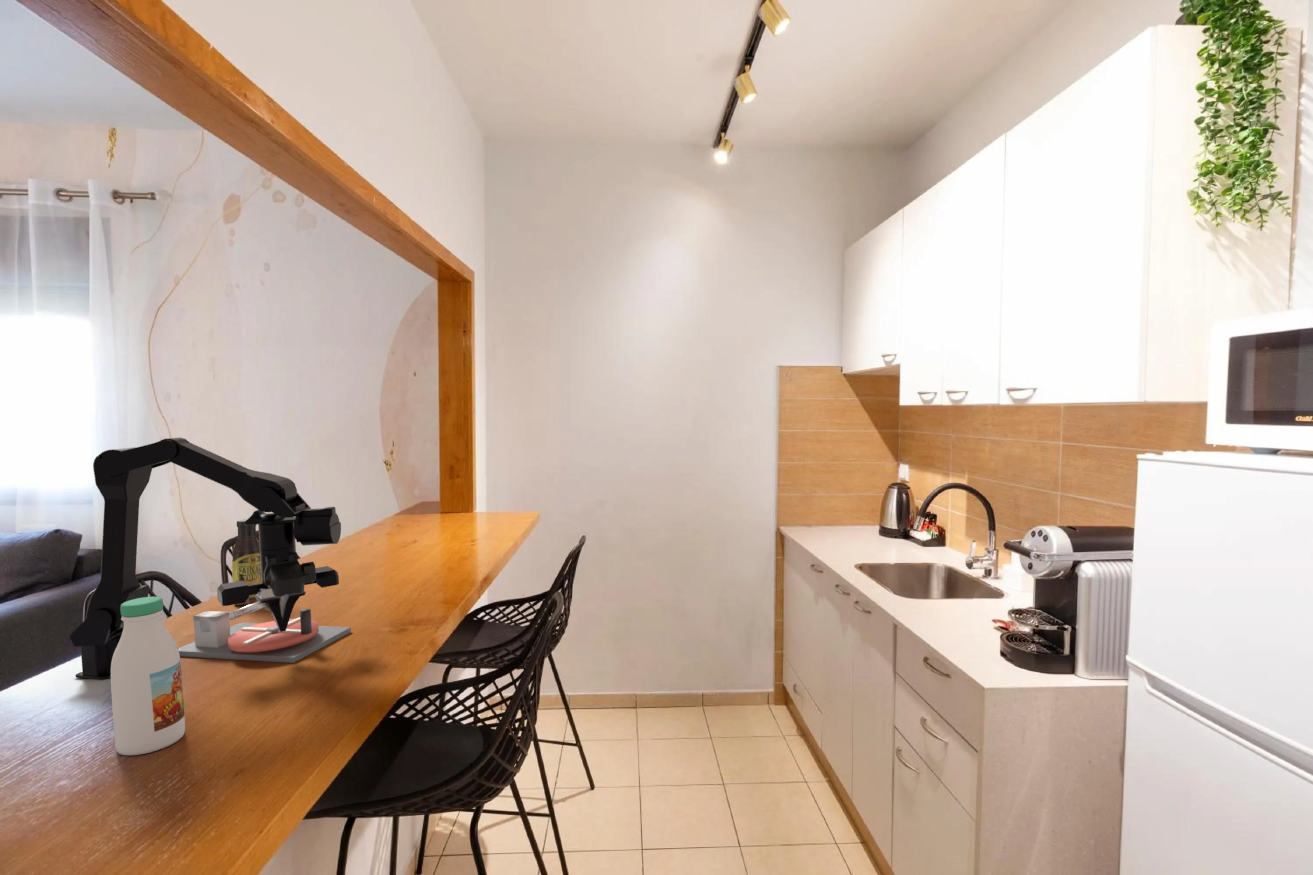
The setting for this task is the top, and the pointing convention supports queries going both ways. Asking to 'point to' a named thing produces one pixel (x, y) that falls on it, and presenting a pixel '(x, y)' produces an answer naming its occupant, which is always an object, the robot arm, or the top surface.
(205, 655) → the mounting plate
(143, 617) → the milk bottle
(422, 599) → the top surface
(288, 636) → the handwheel
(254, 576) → the sauce bottle
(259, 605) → the locking pin
